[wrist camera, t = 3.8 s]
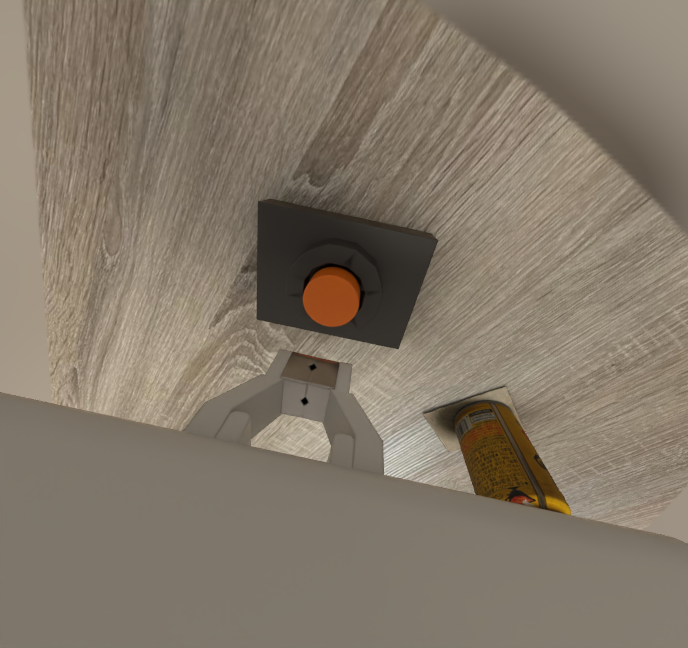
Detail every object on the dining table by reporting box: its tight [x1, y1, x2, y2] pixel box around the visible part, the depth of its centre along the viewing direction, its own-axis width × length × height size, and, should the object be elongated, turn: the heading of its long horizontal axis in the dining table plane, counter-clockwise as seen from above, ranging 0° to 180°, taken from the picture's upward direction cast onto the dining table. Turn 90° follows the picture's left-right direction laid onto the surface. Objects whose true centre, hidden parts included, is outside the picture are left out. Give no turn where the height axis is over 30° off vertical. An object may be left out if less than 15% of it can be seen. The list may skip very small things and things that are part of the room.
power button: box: [303, 267, 360, 327], centre depth 17 cm, size 4×4×2 cm
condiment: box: [423, 387, 571, 515], centre depth 22 cm, size 7×8×12 cm
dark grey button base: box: [257, 199, 438, 349], centre depth 19 cm, size 12×9×4 cm
